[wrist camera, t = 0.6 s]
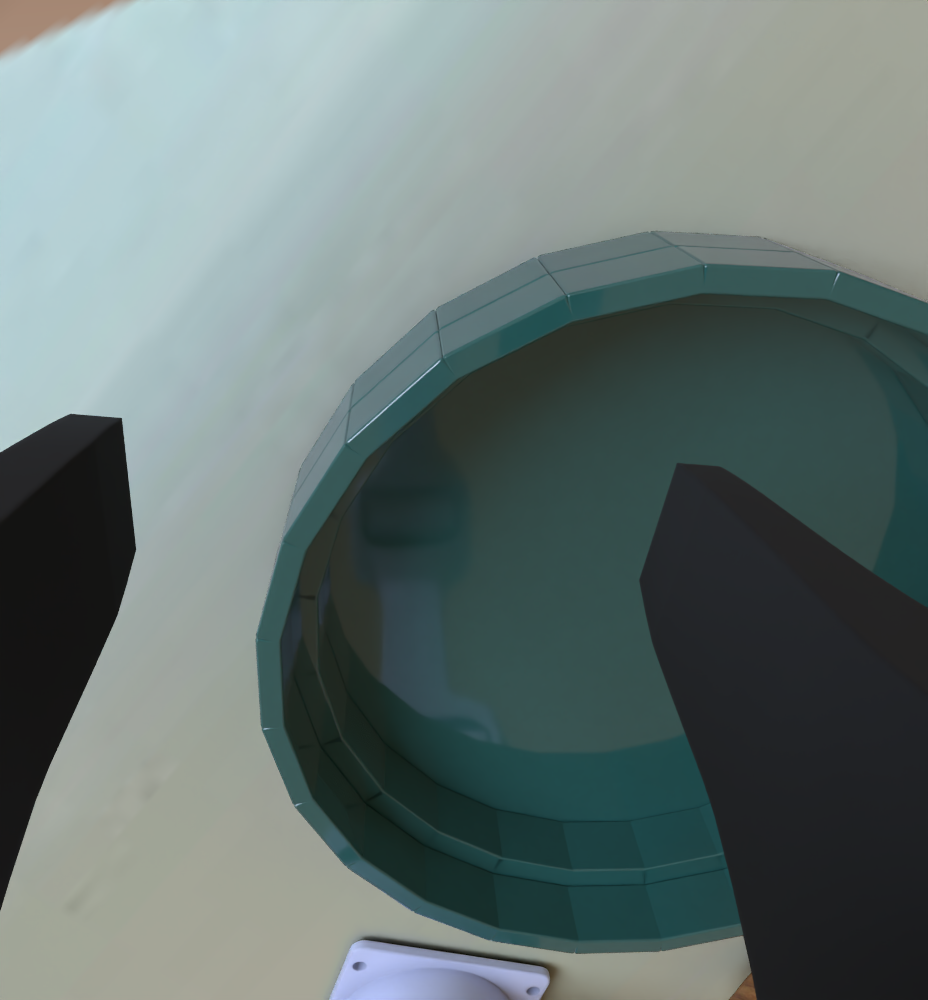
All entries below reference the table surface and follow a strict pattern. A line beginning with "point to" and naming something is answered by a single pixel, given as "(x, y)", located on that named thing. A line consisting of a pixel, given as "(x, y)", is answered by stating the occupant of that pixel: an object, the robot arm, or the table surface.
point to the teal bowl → (566, 571)
